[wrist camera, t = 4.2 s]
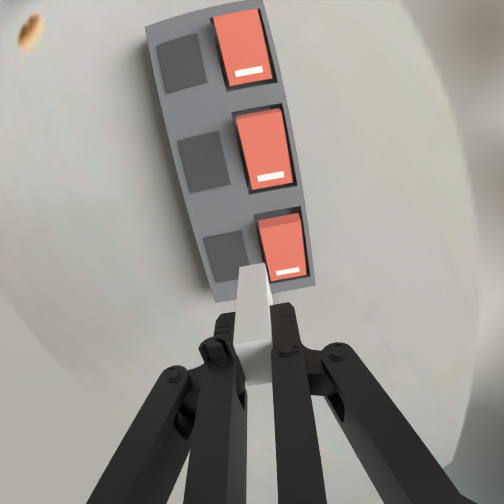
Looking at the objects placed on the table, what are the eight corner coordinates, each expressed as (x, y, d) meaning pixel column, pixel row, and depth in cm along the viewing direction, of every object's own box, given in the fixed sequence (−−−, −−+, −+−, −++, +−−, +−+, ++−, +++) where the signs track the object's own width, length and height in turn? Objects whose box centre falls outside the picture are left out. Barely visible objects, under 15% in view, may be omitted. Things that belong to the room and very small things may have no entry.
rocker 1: (230, 84, 28) (229, 86, 27) (214, 18, 23) (212, 17, 22) (270, 76, 28) (272, 78, 26) (256, 10, 23) (257, 8, 21)
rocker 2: (251, 183, 33) (252, 190, 31) (236, 116, 28) (236, 120, 26) (290, 176, 32) (292, 182, 31) (279, 108, 27) (281, 111, 26)
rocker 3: (269, 272, 38) (271, 281, 36) (258, 220, 32) (259, 229, 31) (304, 265, 37) (306, 275, 36) (298, 213, 32) (300, 221, 31)
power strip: (232, 332, 45) (230, 351, 41) (155, 35, 27) (143, 26, 23) (315, 318, 44) (320, 336, 40) (260, 9, 26) (262, -4, 22)
